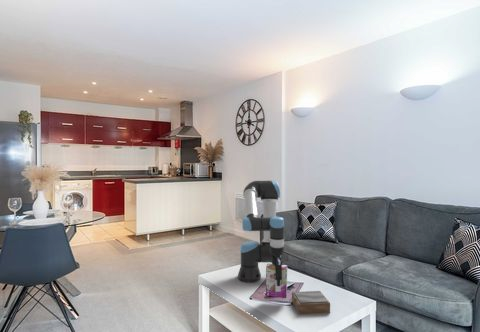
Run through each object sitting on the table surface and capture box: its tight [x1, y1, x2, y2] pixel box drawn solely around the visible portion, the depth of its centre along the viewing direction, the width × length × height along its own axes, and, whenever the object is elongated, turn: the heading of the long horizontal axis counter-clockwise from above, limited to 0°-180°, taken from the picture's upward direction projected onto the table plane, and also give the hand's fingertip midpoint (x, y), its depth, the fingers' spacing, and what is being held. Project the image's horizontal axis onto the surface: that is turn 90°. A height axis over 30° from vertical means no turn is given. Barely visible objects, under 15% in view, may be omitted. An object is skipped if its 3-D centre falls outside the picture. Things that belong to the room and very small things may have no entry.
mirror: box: [291, 290, 331, 315], centre depth 158 cm, size 14×16×6 cm
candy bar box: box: [265, 263, 288, 299], centre depth 161 cm, size 11×5×16 cm, turn 77°
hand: (276, 288), depth 161 cm, fingers closed on candy bar box, 6 cm apart
